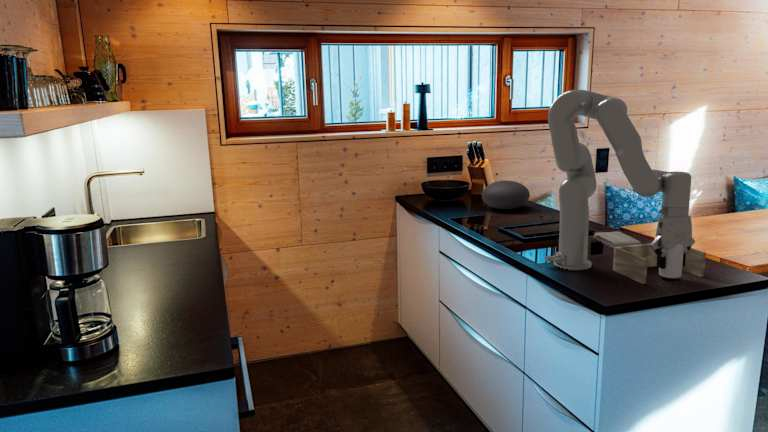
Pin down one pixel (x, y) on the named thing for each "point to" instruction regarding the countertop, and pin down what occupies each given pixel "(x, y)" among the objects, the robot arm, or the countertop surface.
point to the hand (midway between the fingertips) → (670, 266)
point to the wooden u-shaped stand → (651, 261)
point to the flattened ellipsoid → (505, 195)
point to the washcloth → (616, 239)
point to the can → (673, 263)
